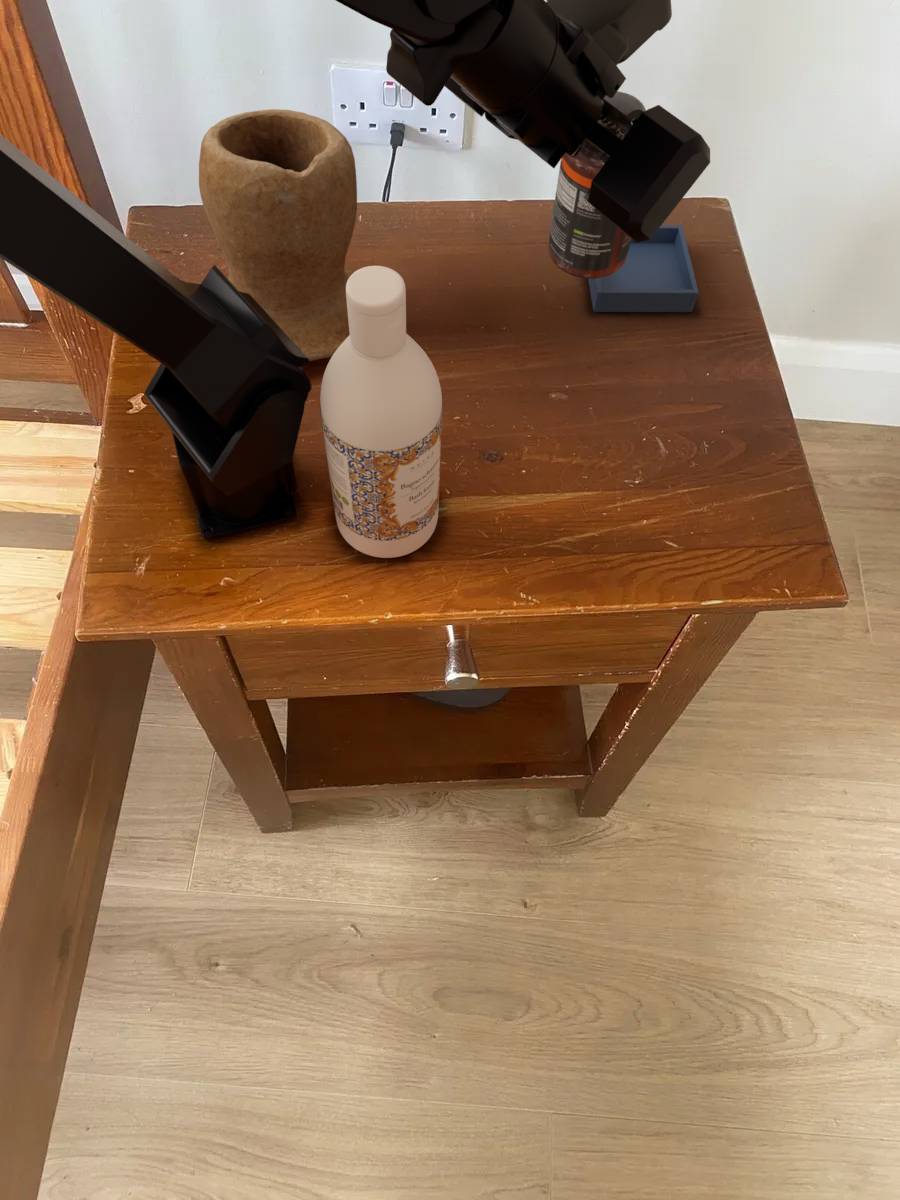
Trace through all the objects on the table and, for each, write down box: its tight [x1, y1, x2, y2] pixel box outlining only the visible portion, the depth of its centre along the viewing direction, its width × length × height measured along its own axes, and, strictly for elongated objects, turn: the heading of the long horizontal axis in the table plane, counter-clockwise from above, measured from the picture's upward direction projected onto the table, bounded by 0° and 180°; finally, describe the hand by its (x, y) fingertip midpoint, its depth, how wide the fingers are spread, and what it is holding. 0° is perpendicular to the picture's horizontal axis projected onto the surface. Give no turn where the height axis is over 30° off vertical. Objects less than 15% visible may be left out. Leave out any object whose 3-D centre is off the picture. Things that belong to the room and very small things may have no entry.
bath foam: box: [319, 265, 444, 559], centre depth 52 cm, size 7×7×20 cm
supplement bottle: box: [547, 90, 647, 280], centre depth 61 cm, size 6×6×11 cm
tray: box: [588, 224, 699, 313], centre depth 72 cm, size 8×8×2 cm
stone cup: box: [198, 108, 358, 362], centre depth 62 cm, size 15×12×15 cm
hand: (617, 168), depth 61 cm, fingers closed on supplement bottle, 6 cm apart
